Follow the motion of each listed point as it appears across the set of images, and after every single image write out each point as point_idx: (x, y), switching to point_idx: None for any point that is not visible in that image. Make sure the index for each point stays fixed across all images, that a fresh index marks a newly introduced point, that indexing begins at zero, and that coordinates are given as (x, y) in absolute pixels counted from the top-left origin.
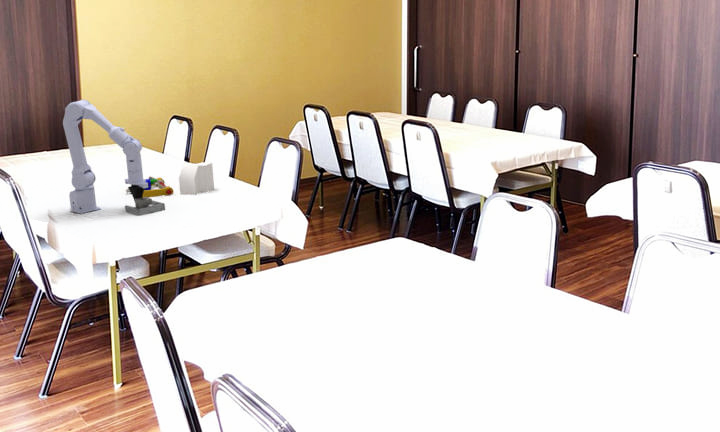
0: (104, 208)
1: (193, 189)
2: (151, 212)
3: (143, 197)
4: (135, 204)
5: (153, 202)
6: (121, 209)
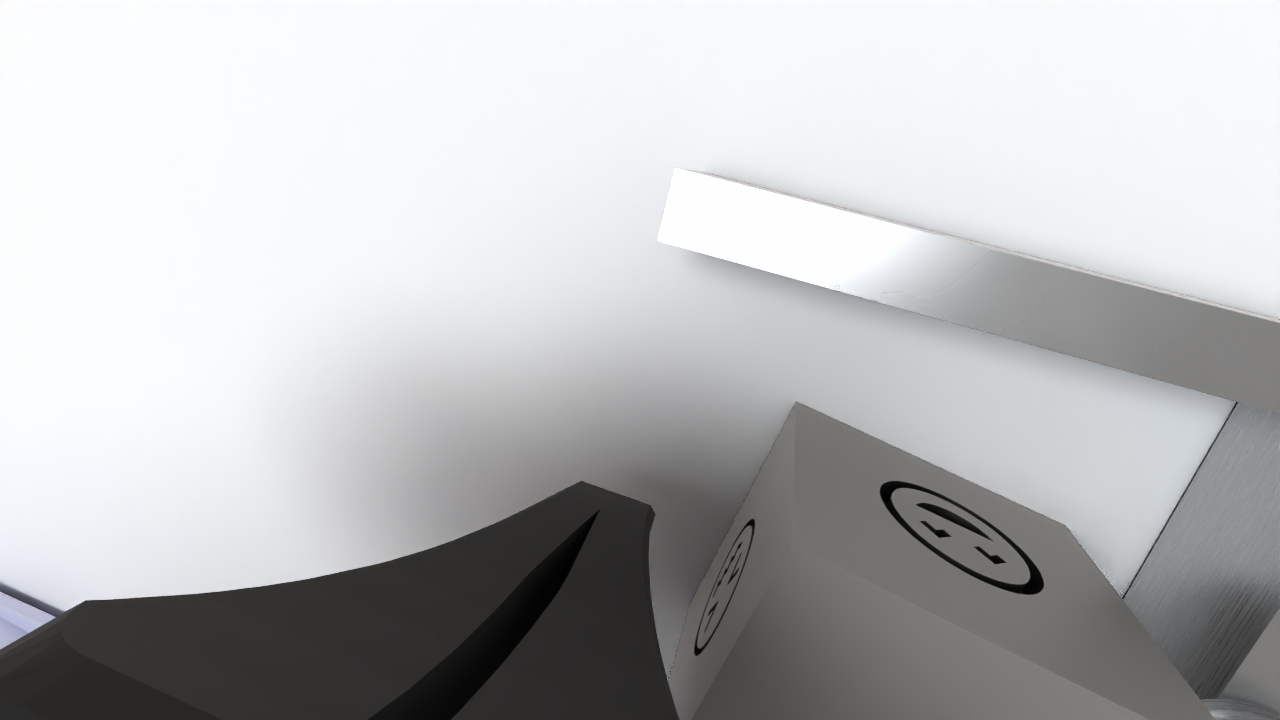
0: (124, 589)
1: None
2: None
3: (750, 646)
4: None
5: (888, 300)
6: None
